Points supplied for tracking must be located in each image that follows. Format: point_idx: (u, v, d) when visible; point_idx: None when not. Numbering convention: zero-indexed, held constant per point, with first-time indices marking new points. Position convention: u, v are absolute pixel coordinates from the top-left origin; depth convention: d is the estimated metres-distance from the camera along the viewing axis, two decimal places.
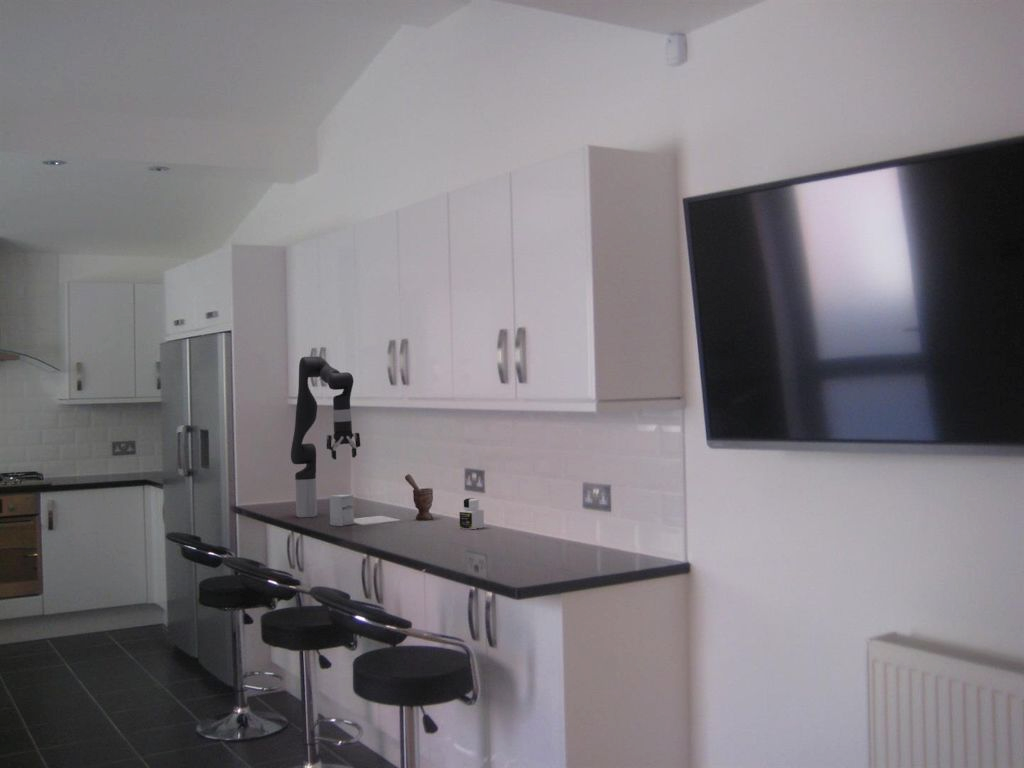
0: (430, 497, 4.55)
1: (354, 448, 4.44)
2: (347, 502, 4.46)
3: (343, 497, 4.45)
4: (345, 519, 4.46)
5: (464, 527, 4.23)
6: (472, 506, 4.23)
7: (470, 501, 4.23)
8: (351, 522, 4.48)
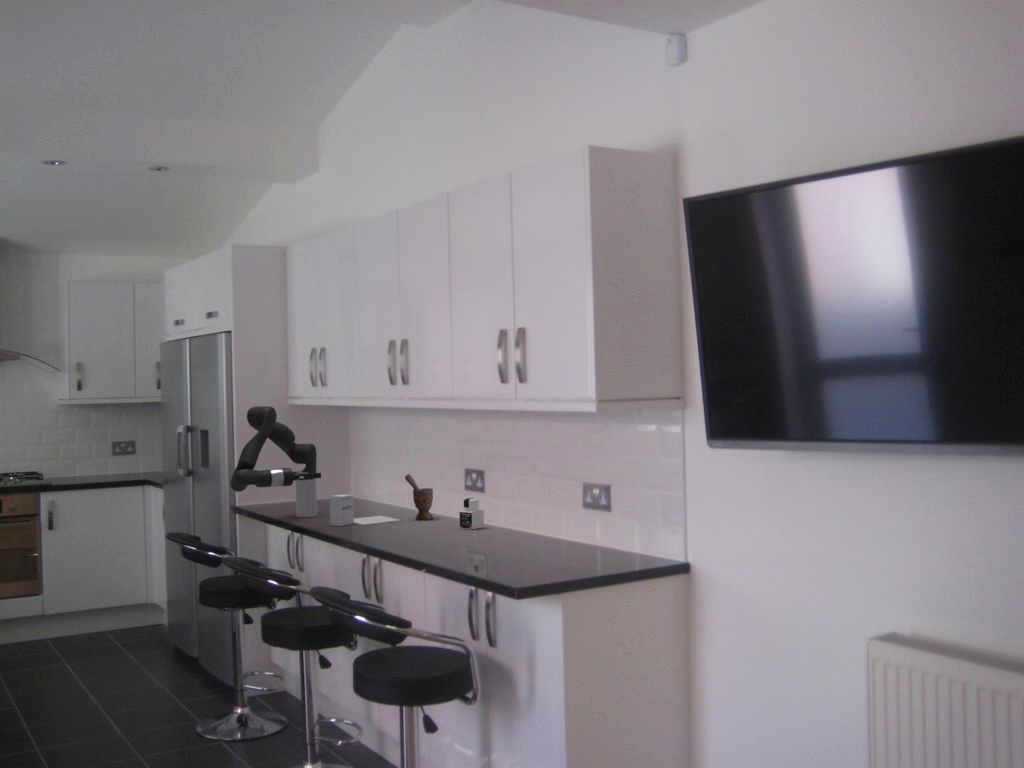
0: (430, 497, 4.55)
1: None
2: (347, 502, 4.46)
3: (343, 497, 4.45)
4: (345, 519, 4.46)
5: (464, 527, 4.23)
6: (472, 506, 4.23)
7: (470, 501, 4.23)
8: (351, 522, 4.48)
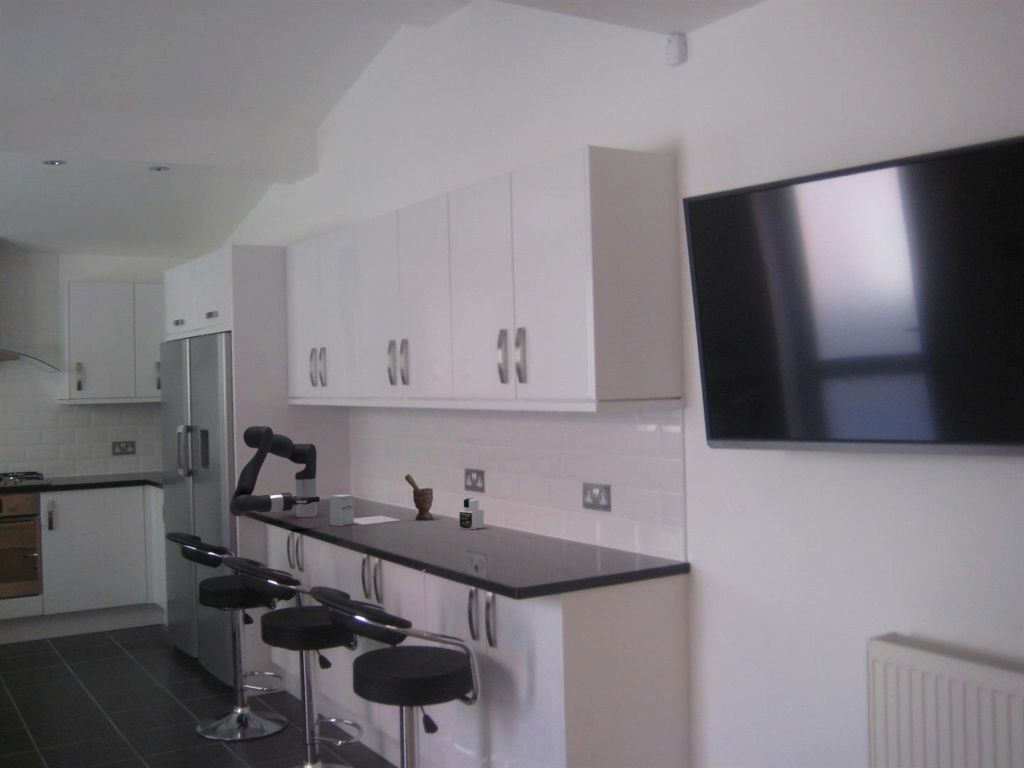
0: (430, 497, 4.55)
1: None
2: (347, 502, 4.46)
3: (343, 497, 4.45)
4: (345, 519, 4.46)
5: (464, 527, 4.23)
6: (472, 506, 4.23)
7: (470, 501, 4.23)
8: (351, 522, 4.48)
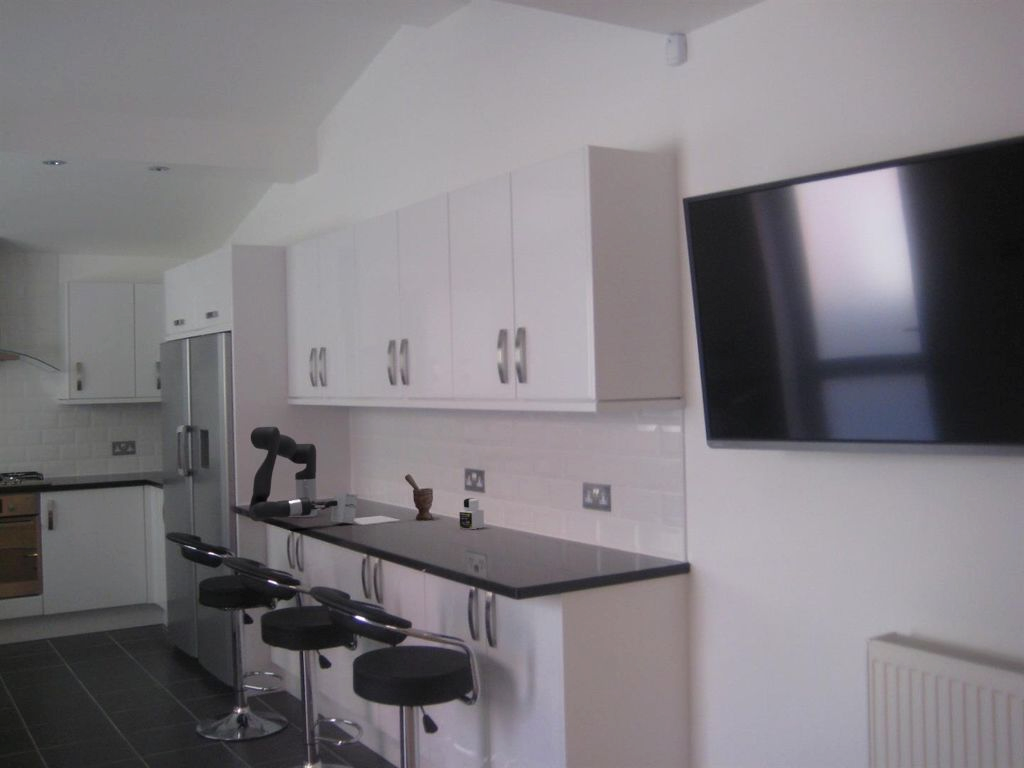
0: (430, 497, 4.55)
1: None
2: (350, 500, 4.48)
3: (348, 494, 4.47)
4: (347, 516, 4.46)
5: (464, 527, 4.23)
6: (472, 506, 4.23)
7: (470, 501, 4.23)
8: (351, 521, 4.49)
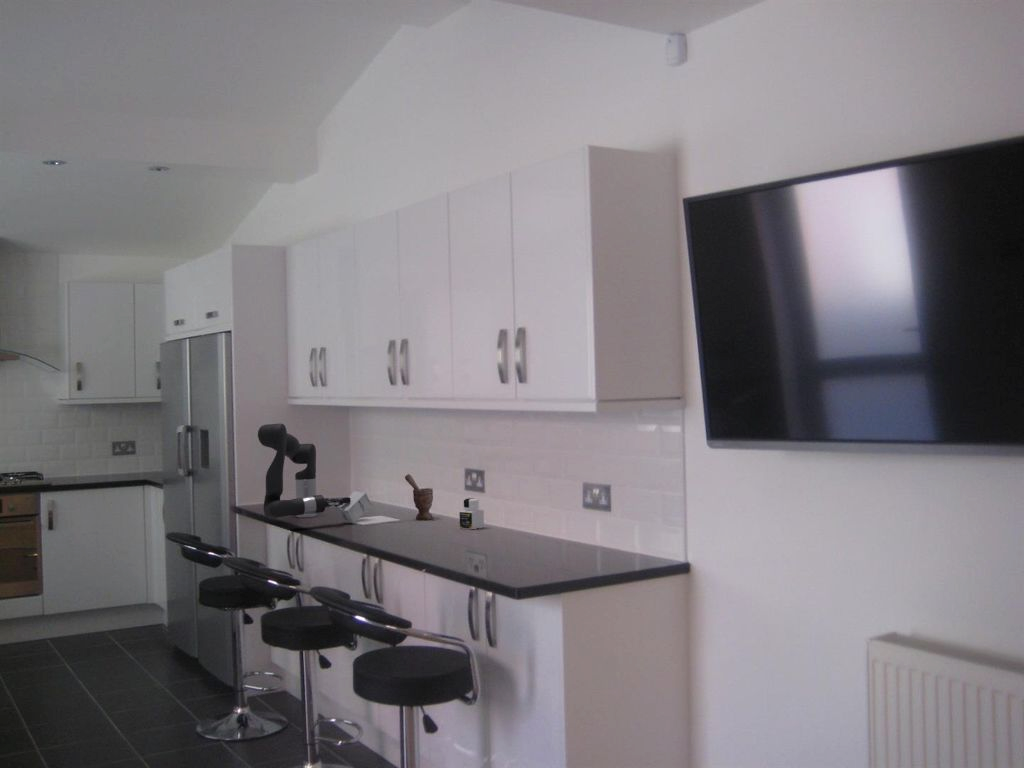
0: (430, 497, 4.55)
1: None
2: (364, 502, 4.54)
3: (366, 495, 4.54)
4: (353, 511, 4.49)
5: (464, 527, 4.23)
6: (472, 506, 4.23)
7: (470, 501, 4.23)
8: (353, 519, 4.49)
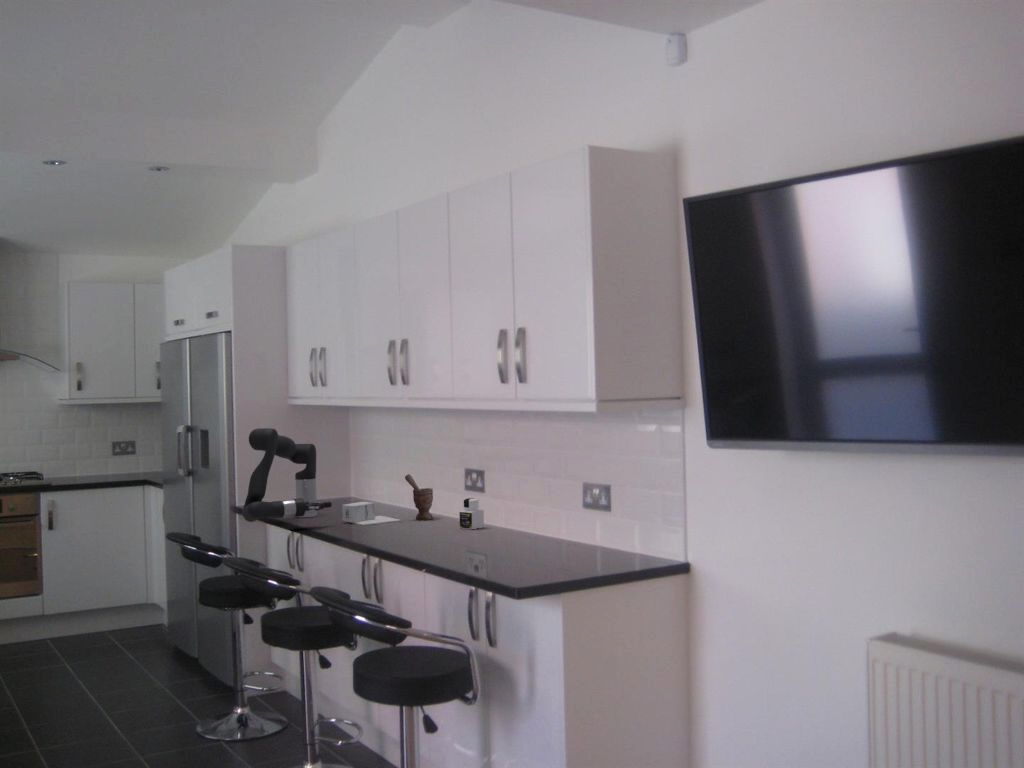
0: (430, 497, 4.55)
1: None
2: (370, 510, 4.56)
3: (374, 505, 4.58)
4: (357, 510, 4.51)
5: (464, 527, 4.23)
6: (472, 506, 4.23)
7: (470, 501, 4.23)
8: (354, 519, 4.50)
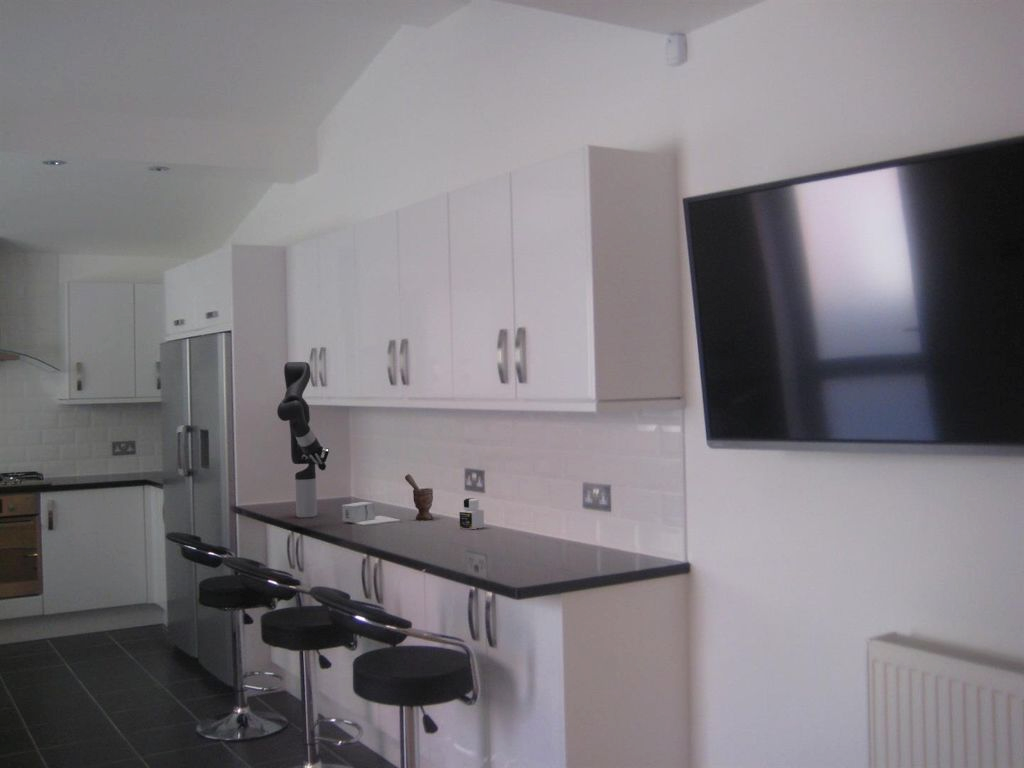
0: (430, 497, 4.55)
1: None
2: (370, 510, 4.56)
3: (373, 505, 4.58)
4: (357, 510, 4.51)
5: (464, 527, 4.23)
6: (472, 506, 4.23)
7: (470, 501, 4.23)
8: (354, 519, 4.50)
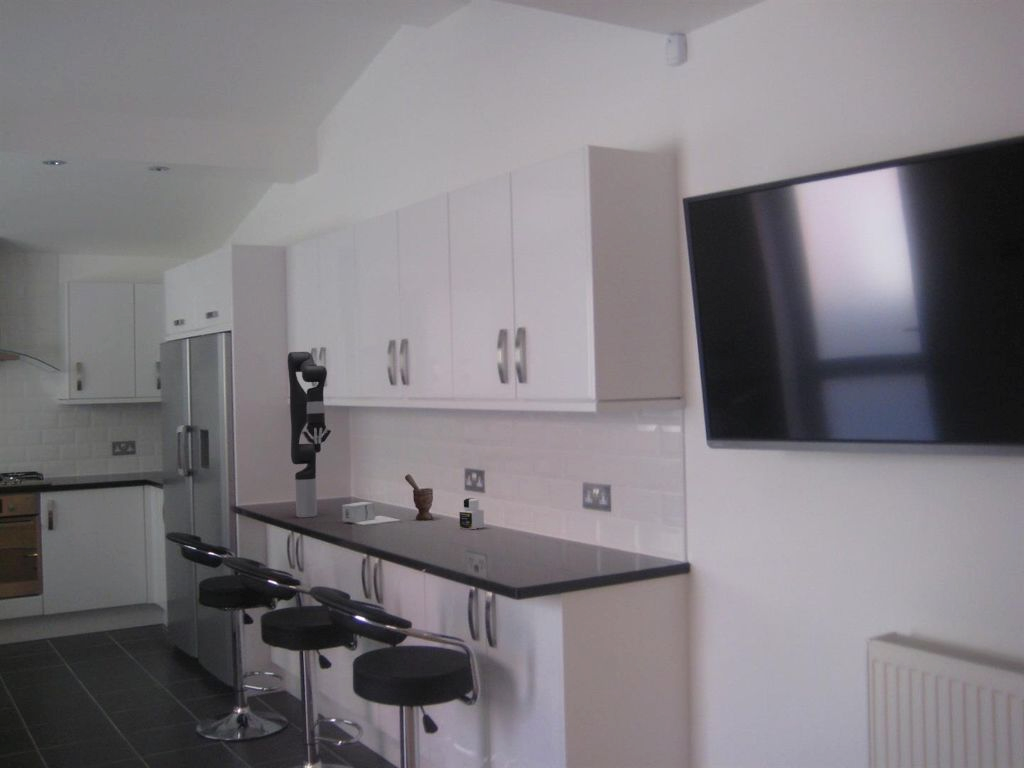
0: (430, 497, 4.55)
1: (318, 443, 4.51)
2: (370, 510, 4.56)
3: (373, 505, 4.58)
4: (357, 510, 4.51)
5: (464, 527, 4.23)
6: (472, 506, 4.23)
7: (470, 501, 4.23)
8: (354, 519, 4.50)
